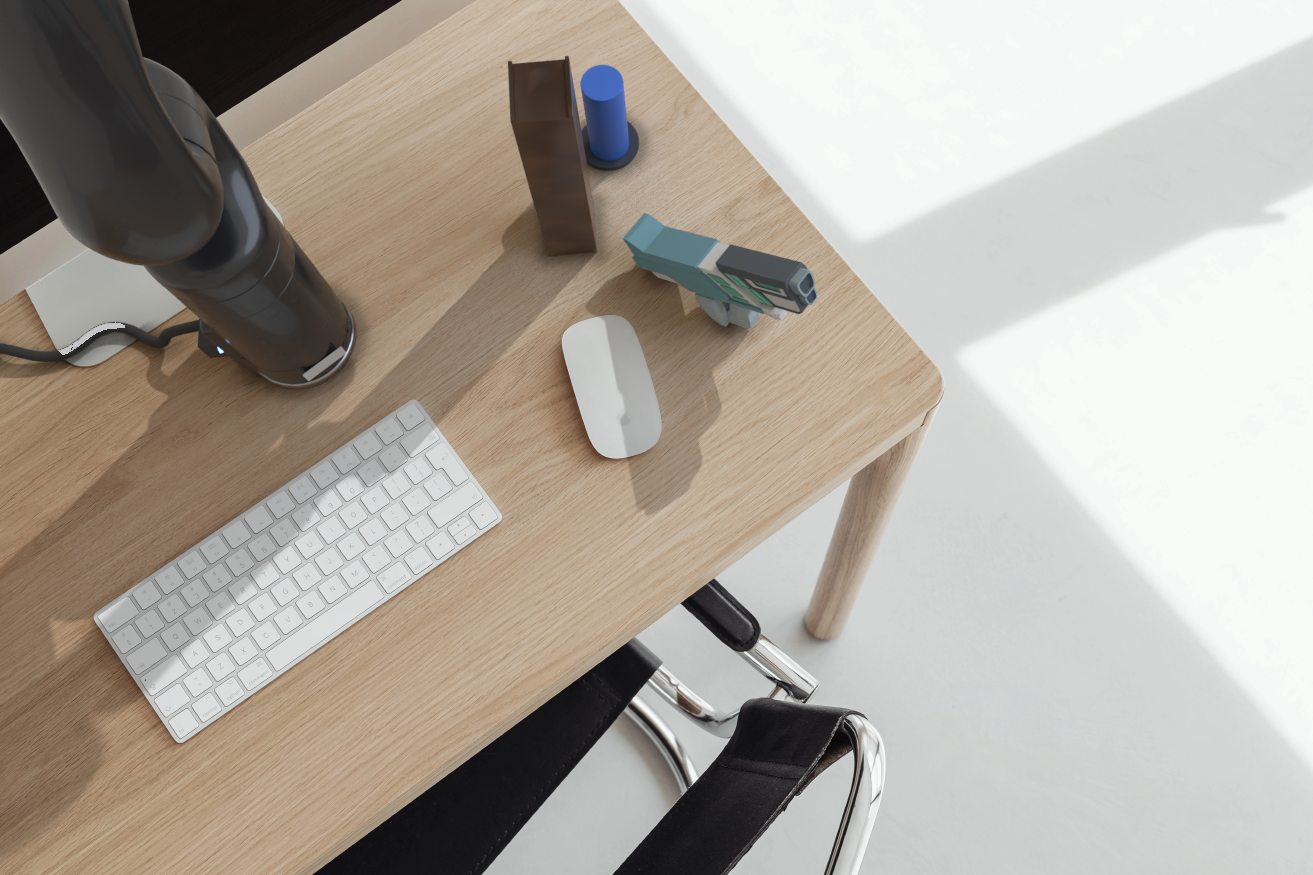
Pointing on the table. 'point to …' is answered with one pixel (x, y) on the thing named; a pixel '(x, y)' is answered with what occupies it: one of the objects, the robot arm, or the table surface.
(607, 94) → the tube
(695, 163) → the table surface
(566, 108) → the brown tall block
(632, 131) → the mat
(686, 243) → the toy gun
